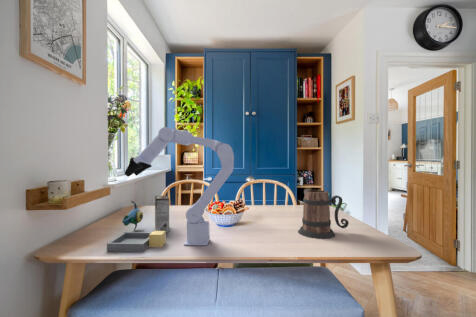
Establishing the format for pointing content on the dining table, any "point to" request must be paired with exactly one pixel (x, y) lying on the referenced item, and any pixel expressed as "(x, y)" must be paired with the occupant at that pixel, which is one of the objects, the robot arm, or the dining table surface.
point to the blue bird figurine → (133, 216)
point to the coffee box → (162, 213)
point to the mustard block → (157, 238)
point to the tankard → (319, 215)
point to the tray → (130, 242)
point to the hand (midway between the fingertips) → (130, 174)
